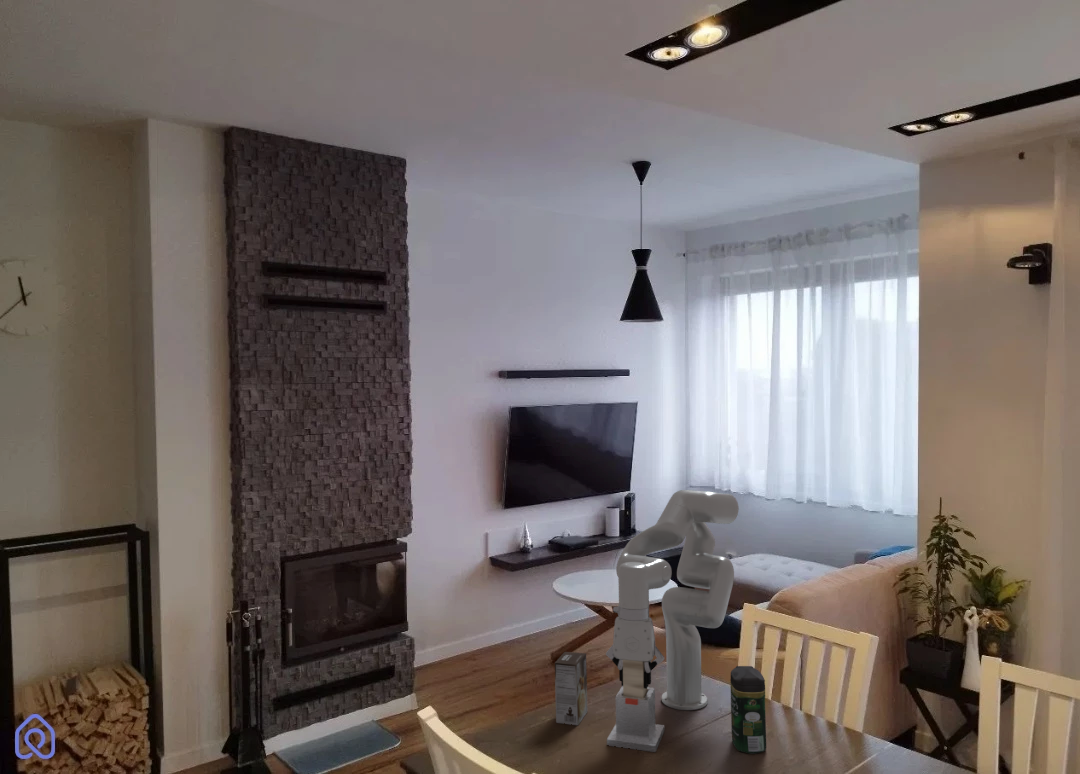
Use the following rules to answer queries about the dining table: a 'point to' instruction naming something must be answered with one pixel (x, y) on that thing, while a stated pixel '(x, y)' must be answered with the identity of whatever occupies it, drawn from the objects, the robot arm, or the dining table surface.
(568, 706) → the coffee box
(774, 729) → the dining table surface
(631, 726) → the stand
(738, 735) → the coffee jar
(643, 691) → the post
